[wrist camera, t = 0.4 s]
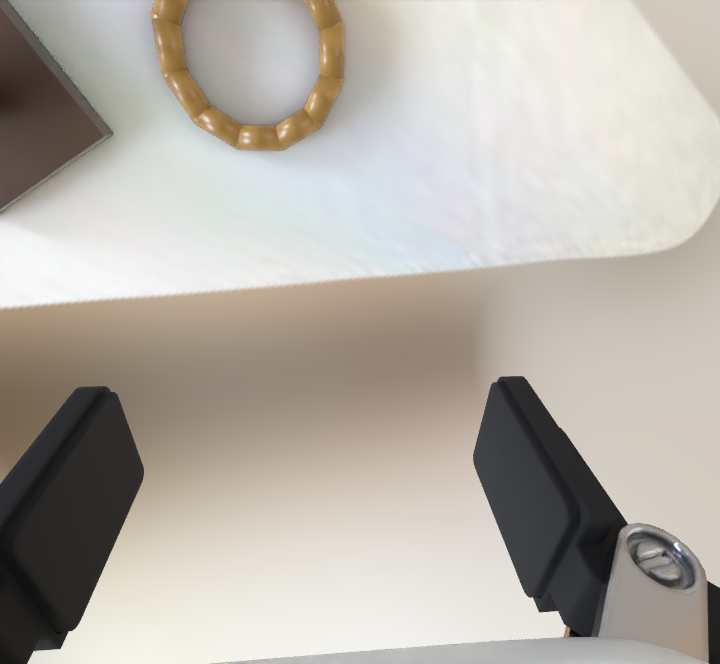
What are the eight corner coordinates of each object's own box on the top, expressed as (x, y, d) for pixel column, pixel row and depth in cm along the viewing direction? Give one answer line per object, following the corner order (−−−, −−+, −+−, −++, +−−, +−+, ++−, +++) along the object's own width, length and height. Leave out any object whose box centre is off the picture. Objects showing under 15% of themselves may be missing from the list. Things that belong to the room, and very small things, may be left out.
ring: (117, 3, 19) (105, -1, 18) (278, -121, 17) (275, -134, 16) (236, 179, 23) (232, 183, 22) (373, 93, 21) (376, 93, 20)
